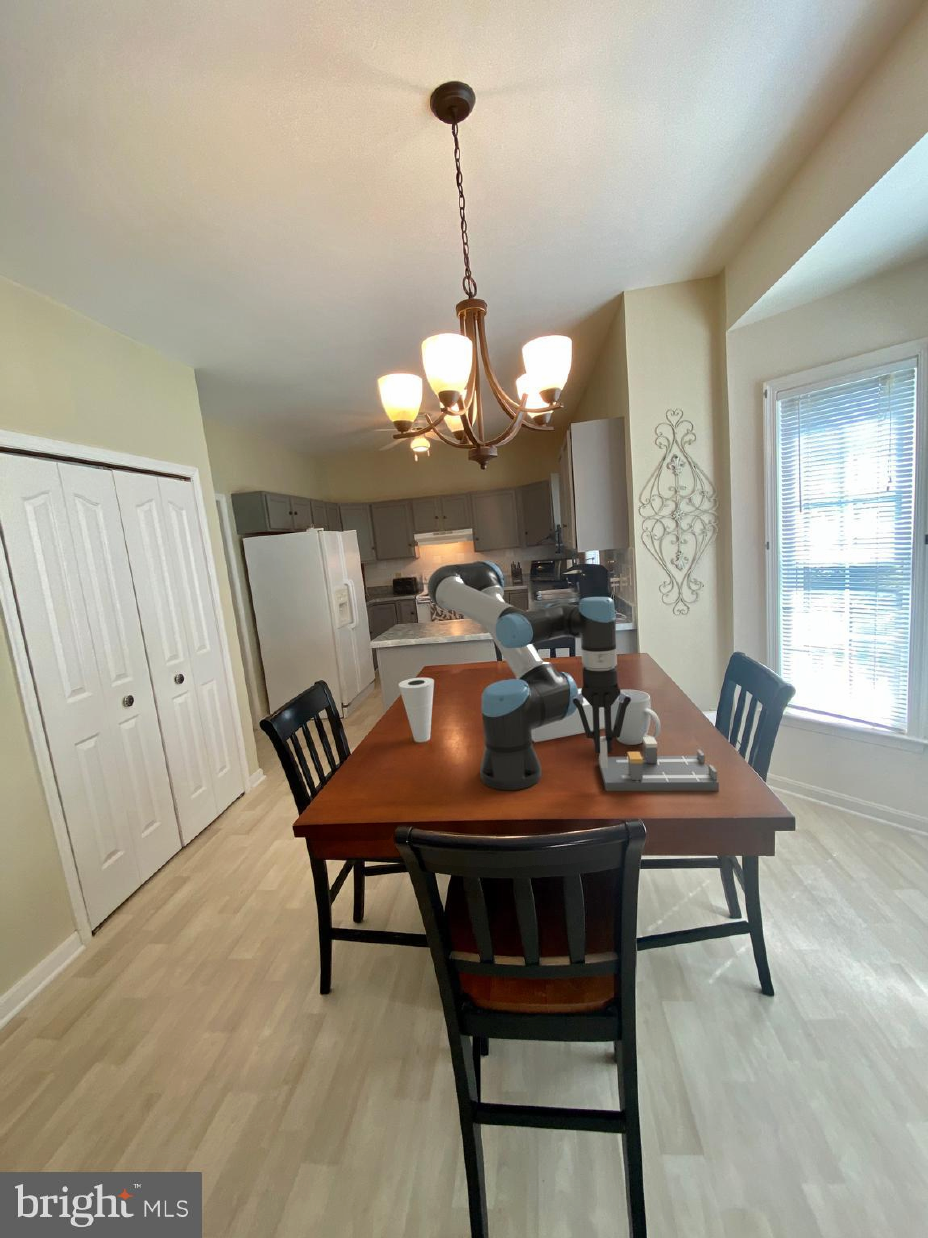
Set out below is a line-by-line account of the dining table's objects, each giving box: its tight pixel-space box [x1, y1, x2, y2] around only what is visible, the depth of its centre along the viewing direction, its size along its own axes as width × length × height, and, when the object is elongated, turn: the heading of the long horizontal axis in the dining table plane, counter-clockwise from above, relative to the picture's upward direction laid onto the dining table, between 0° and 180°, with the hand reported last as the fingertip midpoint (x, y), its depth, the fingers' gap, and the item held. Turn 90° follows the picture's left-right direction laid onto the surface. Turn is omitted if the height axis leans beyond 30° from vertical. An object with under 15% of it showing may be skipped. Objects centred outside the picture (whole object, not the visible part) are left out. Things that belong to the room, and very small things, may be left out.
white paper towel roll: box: [398, 677, 435, 743], centre depth 146 cm, size 11×11×18 cm
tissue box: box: [531, 687, 605, 743], centre depth 147 cm, size 14×25×11 cm, turn 105°
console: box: [598, 749, 720, 792], centre depth 113 cm, size 24×13×4 cm, turn 81°
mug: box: [611, 689, 662, 746], centre depth 131 cm, size 15×11×13 cm
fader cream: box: [642, 737, 659, 763], centre depth 117 cm, size 3×4×5 cm
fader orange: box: [626, 751, 643, 780], centre depth 110 cm, size 3×4×5 cm
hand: (603, 765), depth 111 cm, fingers closed
